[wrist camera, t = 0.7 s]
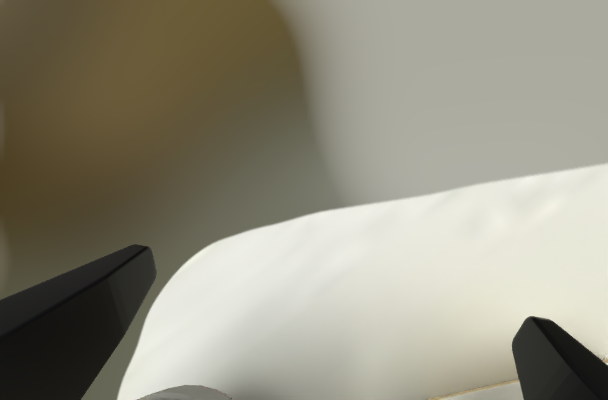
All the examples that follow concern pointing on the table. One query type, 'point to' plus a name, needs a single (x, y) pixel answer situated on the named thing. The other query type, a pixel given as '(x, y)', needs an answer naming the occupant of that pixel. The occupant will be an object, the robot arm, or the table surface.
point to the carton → (491, 392)
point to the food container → (187, 394)
